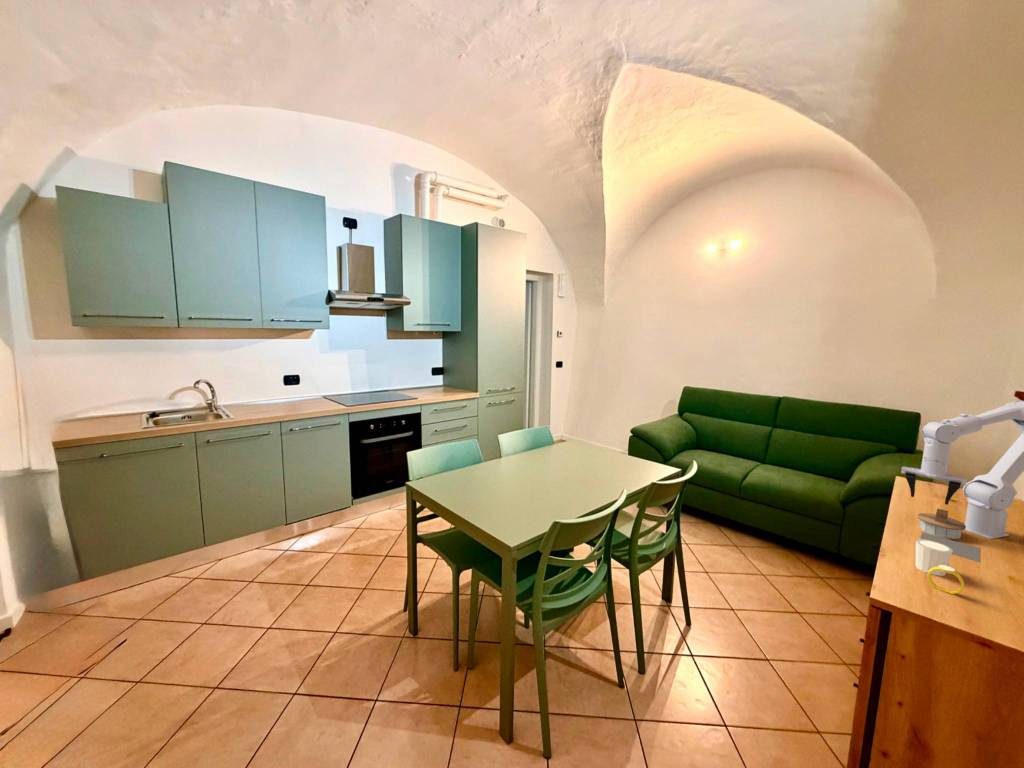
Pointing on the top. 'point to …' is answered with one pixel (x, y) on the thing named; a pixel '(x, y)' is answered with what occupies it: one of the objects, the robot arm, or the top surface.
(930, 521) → the walnut lid
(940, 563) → the white cylinder
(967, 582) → the top surface
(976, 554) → the rubber mat
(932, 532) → the grey curved piece
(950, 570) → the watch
